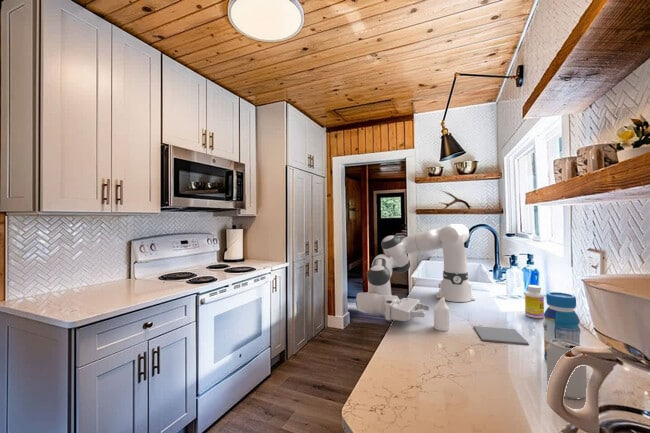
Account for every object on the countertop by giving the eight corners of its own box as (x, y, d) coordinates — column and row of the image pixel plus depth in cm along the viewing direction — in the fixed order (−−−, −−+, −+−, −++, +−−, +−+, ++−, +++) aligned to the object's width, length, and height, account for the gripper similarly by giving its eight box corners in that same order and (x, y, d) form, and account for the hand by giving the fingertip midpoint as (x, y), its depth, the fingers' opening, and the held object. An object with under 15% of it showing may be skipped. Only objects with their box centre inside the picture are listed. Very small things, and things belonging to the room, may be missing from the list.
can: (575, 405, 68) (574, 351, 68) (540, 388, 75) (539, 339, 75) (593, 396, 71) (593, 345, 71) (558, 381, 78) (558, 334, 78)
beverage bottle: (573, 374, 81) (572, 300, 81) (538, 361, 88) (537, 293, 89) (586, 366, 86) (585, 295, 86) (551, 354, 93) (551, 289, 93)
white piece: (431, 295, 119) (445, 294, 119) (431, 325, 119) (446, 325, 119) (436, 299, 113) (451, 299, 113) (437, 331, 113) (452, 331, 113)
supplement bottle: (541, 319, 124) (541, 288, 124) (523, 316, 129) (522, 286, 129) (545, 316, 129) (545, 286, 129) (527, 312, 134) (527, 283, 134)
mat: (473, 327, 116) (473, 326, 116) (514, 330, 113) (514, 329, 113) (482, 340, 104) (482, 339, 104) (528, 344, 100) (528, 343, 100)
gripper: (399, 307, 134) (432, 312, 127) (384, 321, 116) (421, 327, 109) (399, 293, 134) (431, 297, 127) (384, 304, 116) (421, 310, 109)
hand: (427, 311), depth 118 cm, fingers open, 8 cm apart
